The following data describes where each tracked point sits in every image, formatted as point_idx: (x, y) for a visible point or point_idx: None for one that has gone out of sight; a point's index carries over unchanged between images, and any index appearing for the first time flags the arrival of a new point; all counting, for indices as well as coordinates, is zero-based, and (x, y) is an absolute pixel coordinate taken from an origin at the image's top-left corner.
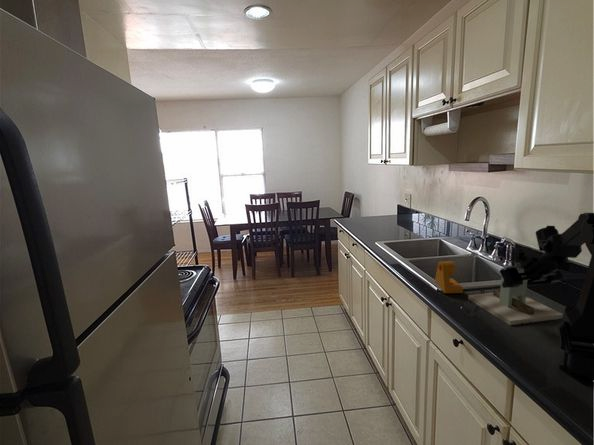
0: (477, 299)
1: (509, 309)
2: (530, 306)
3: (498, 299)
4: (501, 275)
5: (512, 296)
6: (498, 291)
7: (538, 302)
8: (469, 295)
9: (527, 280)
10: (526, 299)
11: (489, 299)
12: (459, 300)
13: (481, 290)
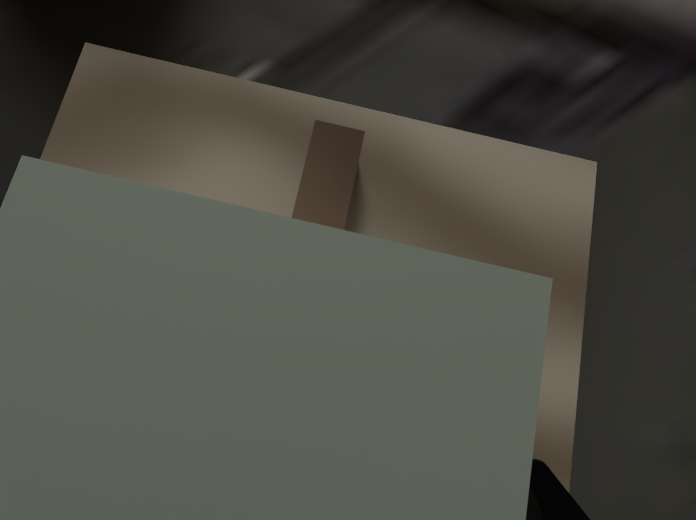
0: (71, 144)
1: None
2: None
3: None
4: (36, 166)
5: (459, 254)
6: (330, 167)
7: (568, 476)
8: (94, 47)
9: (541, 514)
10: None
11: None
12: (3, 49)
13: (385, 3)
